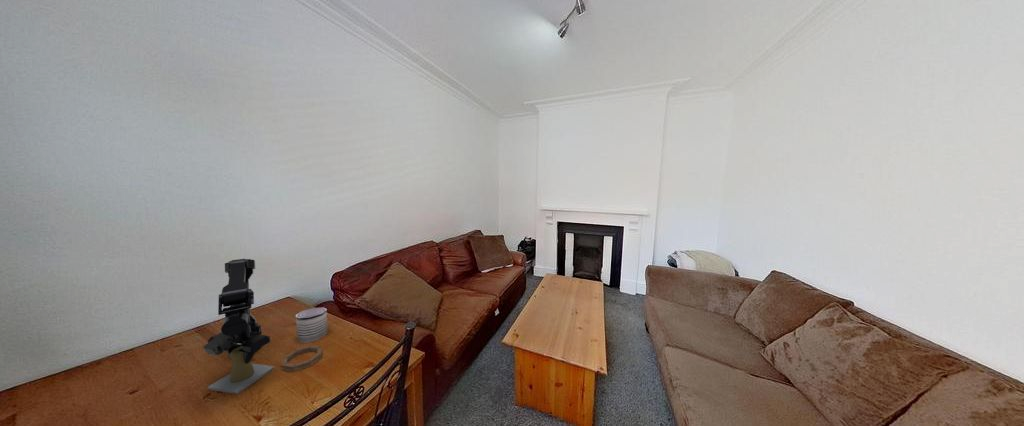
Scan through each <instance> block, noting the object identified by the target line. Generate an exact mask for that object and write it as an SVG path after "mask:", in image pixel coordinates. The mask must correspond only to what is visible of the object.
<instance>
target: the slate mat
mask: <svg viewBox="0 0 1024 426" xmlns="http://www.w3.org/2000/svg"><path fill="white" fill-rule="evenodd" d="M252 366H253V369H254V374H253V375H252V376H250V377H249V378H247V379H245V380H243V381H240V382H231V381H230V379H231V372H230V373H228V374H227V375H225V376H223V377H221V378H219V379H218V380H217V381H215V382H214V383H211V384H210V385H208V386H206V387H207V390H211V391H217V392H222V393H228V394H234V395H238V394H239V393H241V392H242V391H244V390H245V389H247V388H248V387H250V386H251V385H252V384H254V383H255V382H257V381H258V380H260V379H261V378H264V376H266V375H267V374H269V373H270V372H272V371H274V370H275V366H273V365H272V366H271V365H266V364H260V363H259V364H258V363H254V362H252Z"/></svg>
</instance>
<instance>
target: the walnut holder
mask: <svg viewBox="0 0 1024 426" xmlns="http://www.w3.org/2000/svg"><path fill="white" fill-rule="evenodd" d="M306 353H316V354H315V355H314V356H312V357H311V358H310V359H308V360H305V361H302V362H299V363H288V362H290V361H291V360H292V359H294V358H296V357H297V356H298V355H299V356H300V355H303V354H306ZM322 358H323V348H322V346H320V345H314V344H310V345H306V346H303V347H299V348H296V349H294V350H293V351H291V352H289V353H288V354H287V355H285V356H283V357H282V360H281V365H280V366H281V367H280V368H281V370H282V371H286V372H291V373H292V372H299V371H301V370H304V369H306V368H309V367H312V366H313V365H314V364H316V363H317V362H318V361H320V360H321V359H322Z"/></svg>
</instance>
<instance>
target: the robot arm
mask: <svg viewBox="0 0 1024 426" xmlns="http://www.w3.org/2000/svg"><path fill="white" fill-rule="evenodd" d="M255 269H256V261H255V259H251V258H250V259H249V258H238V259H232V260H229V261H227V262H225V263H224V273H225V274H228V275H227V276H228V283H227V284H226V285H225V286H224V287H222V290H221V293H219V294H218V309H217V310H218V312H217V313H218V316H220V315H224V318H223V319H224V320H223V321H222V325H221V328H220V332H219V333H217V334H215V335H212V336H210V338H209V339H208V340H207V343H206V344H204V345H203V347H202V348H203V350H204V351H205V352H206V353H207V354H208V355H213V356H219V355H221V354H222V353H224V352H226V354H227V355H228V357H229V358H230V353H231V352H232V351H233V350H234V349H236V348H238V347H241V346H242V349H240V350H239V351H238V352H242V353H243V356H244V360H245V363H246V364H248V363H249V362H250V361H251V362H252V359H253V358H254V355H255V354H256V351H258V350H259V349H261V348H262V347H264V346H266V345H268V344H269V343H270V342H271V337H270V335H266V334H265V335H264V334H262V326H261V325H260V323H259V322H257V319H256V317H254V316H253V315H252V314H251V309H252V306H253V305H254V304H255V295H254V293H255V292H254V291H253V289H251V288H250V279H251V277H252V276H253V274H254V270H255ZM230 360H231V361H233V360H232V359H231V358H230Z"/></svg>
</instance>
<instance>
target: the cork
mask: <svg viewBox="0 0 1024 426" xmlns="http://www.w3.org/2000/svg"><path fill="white" fill-rule="evenodd" d="M240 349H242V346H241V347H238V348H236V349H234V350H233V351H232V352H231V353H230V357H229V358H230V360H231V359H232V360H233V361H232V360H231V361H232V362H231V371H230V373H231V379H230V381H231V382H240V381H243V380H245V379H247V378H249V377H250V376H252V375H253V374H254V369H253V366H252V363H253V362H252V360H251V361H250V362H249V363H248V364H246V363H245V360H244V356H243V353H242V352H238V351H239V350H240Z"/></svg>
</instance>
